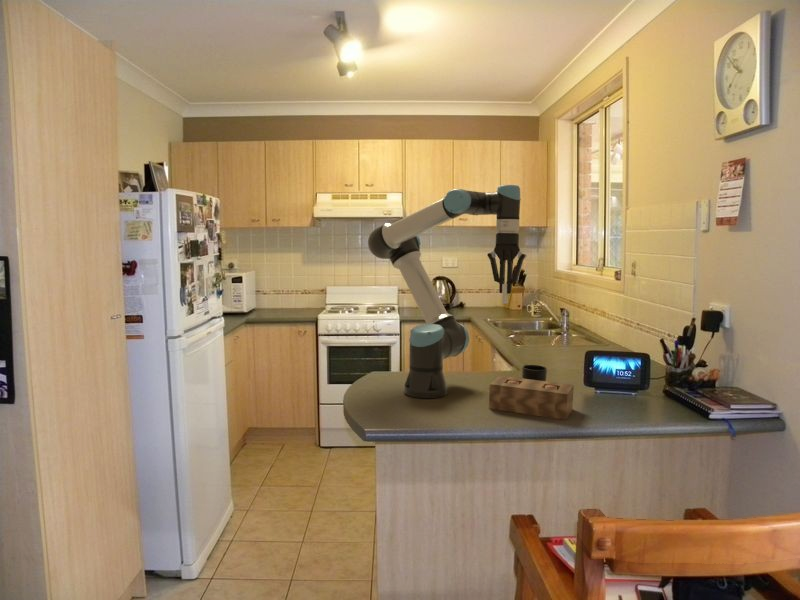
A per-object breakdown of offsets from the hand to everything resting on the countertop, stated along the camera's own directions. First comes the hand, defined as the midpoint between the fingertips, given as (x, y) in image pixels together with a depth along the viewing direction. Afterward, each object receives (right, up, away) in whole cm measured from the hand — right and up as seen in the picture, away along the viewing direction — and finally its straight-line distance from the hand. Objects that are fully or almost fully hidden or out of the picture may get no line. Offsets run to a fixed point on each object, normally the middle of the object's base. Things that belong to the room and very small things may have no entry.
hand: (505, 303), depth 189 cm
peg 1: (+1, -33, -7) cm, 34 cm away
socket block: (+6, -34, -9) cm, 36 cm away
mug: (+11, -32, +9) cm, 35 cm away
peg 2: (+12, -34, -12) cm, 38 cm away
